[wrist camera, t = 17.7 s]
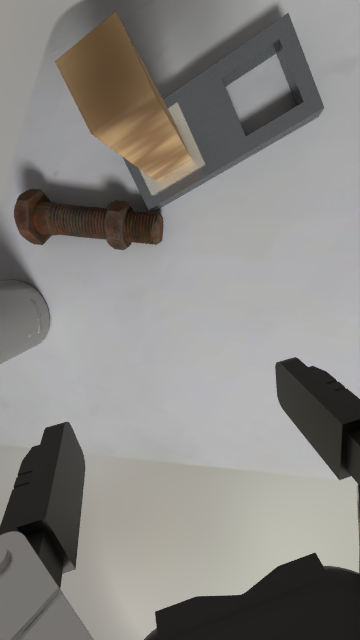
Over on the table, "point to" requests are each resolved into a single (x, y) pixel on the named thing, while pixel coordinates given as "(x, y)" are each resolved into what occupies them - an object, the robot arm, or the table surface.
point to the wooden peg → (122, 100)
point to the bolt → (85, 221)
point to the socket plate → (230, 114)
